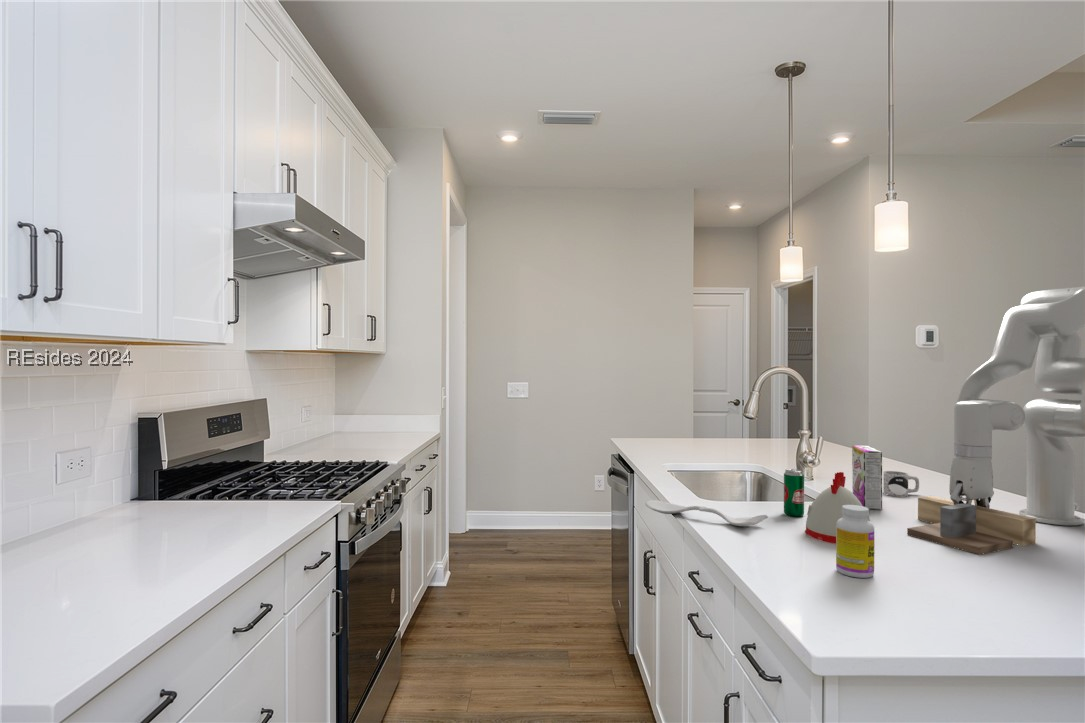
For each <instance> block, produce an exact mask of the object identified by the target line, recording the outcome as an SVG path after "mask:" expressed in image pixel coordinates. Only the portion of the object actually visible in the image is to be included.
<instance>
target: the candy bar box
mask: <svg viewBox="0 0 1085 723" xmlns="http://www.w3.org/2000/svg"><path fill="white" fill-rule="evenodd" d="M851 448H852V449H851V452H852V454H851V456H852V461H851V462H852V464H851V465H852V468H851V469H852V470H851V471H852V474H851V475H852V493H853V494H854V495H855V496H856V497H857V499H858V500H859V501H860V503H861V504H862V506H863V507H866V508H868V509H869V510H875V509H878V510H883V452H882V451H881V450H878V449H876V448H874V447H872V446H870V445H862V444H861V445H858V444H857V445H855V444H854V445H851Z"/></svg>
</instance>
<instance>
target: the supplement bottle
mask: <svg viewBox="0 0 1085 723" xmlns="http://www.w3.org/2000/svg"><path fill="white" fill-rule="evenodd" d="M842 514H843V518H840V519H839V520H838V521H837V523H836V543H835V545H836V548H835V554H836V555H835V568H836V570H837V571H838V572H839V573H840V574H842V575H843V576H844V575H845V576H848V577H852V578H857V579H858V578H859V579H868V578H871V577H872V576H874V574H875V526H874V523H872V522H871V520H870V521H868V518H867V517H868V515H869V516H870V509H868V508H866V507H863V506H858V505H843V506H842Z"/></svg>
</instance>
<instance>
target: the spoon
mask: <svg viewBox="0 0 1085 723" xmlns="http://www.w3.org/2000/svg"><path fill="white" fill-rule="evenodd" d="M645 506H646V507H648V508H649V509H651V510H652V511H654V512H657V513H661V514H665V515H672V514H673V515H674V514H679V513H683V512H684V513H685V512H689V511H700V512H705V513H712V514H715V515H717V516H719V517H721V518H722V519H723V520H724V521H726V522H727V523H728V524H730V525H732V526H735V527H749V526H750V527H751V526H755V525H758V524H760V522H761V523H762V522H763V521H764V520H767V519H768V517H769V516H768V515H767V514H759V515H756V516H755V515H754V516H752V517H751V516H750V517H747V516H746V517H745V516H744V517H733V516H730V515H727V514H725V513H724V512H722V511H720V510H718V509H716V508H713V507H706V506H700V505H691V506H685V505H679V504H674V503H671V502H666V501H663V500H656V499H655V500H654V499H649V500H647V501H646V502H645Z"/></svg>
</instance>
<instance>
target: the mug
mask: <svg viewBox="0 0 1085 723" xmlns="http://www.w3.org/2000/svg"><path fill="white" fill-rule="evenodd" d="M909 480H912V481H914V482H915V486H914V488H909ZM919 489H920V481H919V477H918V476H914V475H909V473H908V472H903V471H897V470H886V471H885V470H884V471H883V476H882V494H884V493H885V494H884V495H886V494H888V495H887V496H889V495H892V496H891V497H897V496H907V497H909V494H911V493H912V494H913V493H916V492H919Z"/></svg>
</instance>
